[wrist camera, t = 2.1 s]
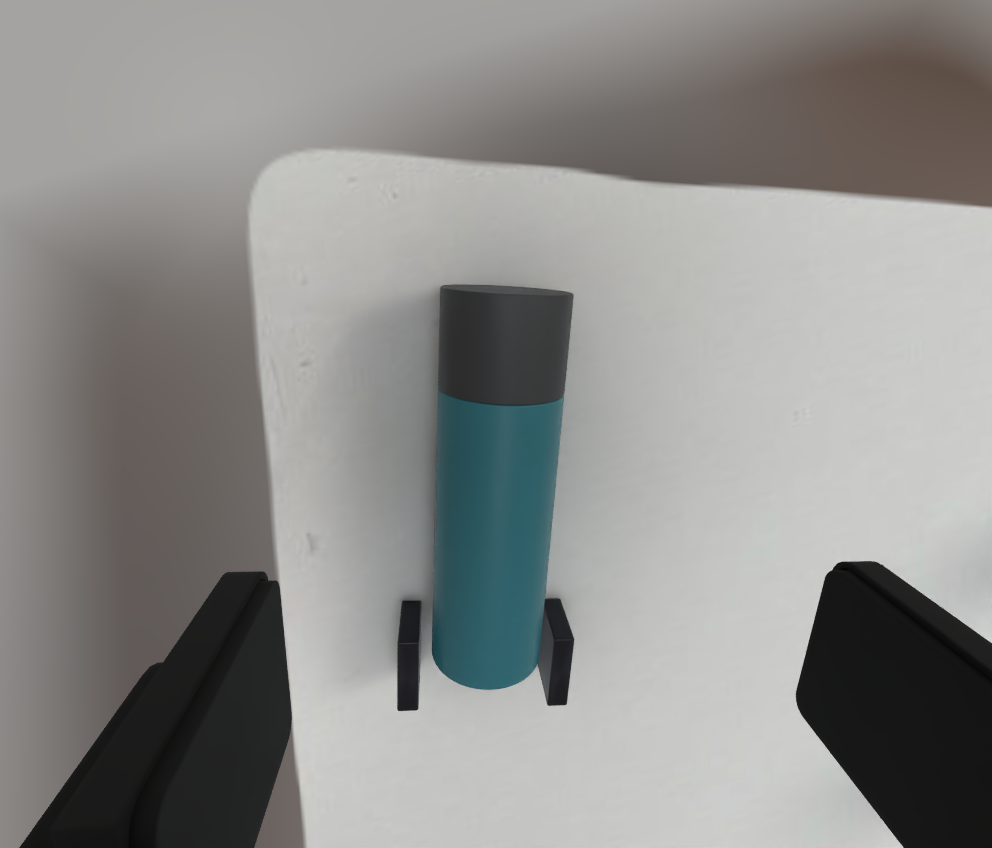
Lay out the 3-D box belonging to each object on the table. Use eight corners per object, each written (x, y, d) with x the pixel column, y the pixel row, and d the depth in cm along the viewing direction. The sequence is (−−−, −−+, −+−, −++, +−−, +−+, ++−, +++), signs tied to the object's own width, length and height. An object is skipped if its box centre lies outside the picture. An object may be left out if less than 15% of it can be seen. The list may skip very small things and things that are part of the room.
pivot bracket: (401, 664, 29) (397, 711, 26) (402, 600, 28) (397, 642, 25) (554, 660, 30) (566, 705, 27) (560, 598, 29) (574, 639, 26)
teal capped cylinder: (432, 616, 28) (431, 692, 24) (440, 282, 23) (440, 290, 18) (530, 614, 29) (548, 688, 24) (558, 288, 24) (588, 298, 19)
